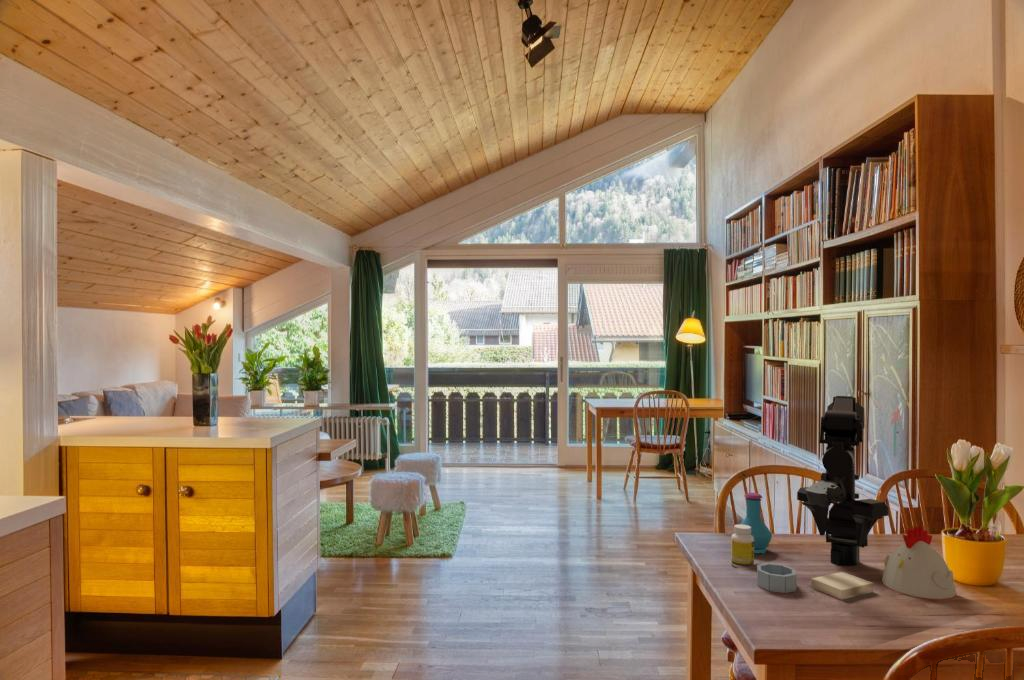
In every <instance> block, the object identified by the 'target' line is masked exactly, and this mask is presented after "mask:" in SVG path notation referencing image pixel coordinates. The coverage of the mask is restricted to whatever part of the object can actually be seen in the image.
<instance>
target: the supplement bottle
mask: <svg viewBox="0 0 1024 680" xmlns="http://www.w3.org/2000/svg"><path fill="white" fill-rule="evenodd" d="M733 530H734V533H732V534H731V538H730V539H731V540H730V541H731V542H730V543H731V544H730V545H731V546H730V551H731V552H730V555H731V556H730V557H731V558H730V563H731V565H732V566H733V567H734V568H737V567H738V569H740V568H745V567H750V566H754V565H755V554H754V538H753V536H751V535H750V534H751V527H750V526H748V525H742V524H741V523H740V524H734V528H733Z"/></svg>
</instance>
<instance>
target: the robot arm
mask: <svg viewBox="0 0 1024 680" xmlns="http://www.w3.org/2000/svg"><path fill="white" fill-rule="evenodd" d="M865 420H866V419H865V407H863V406H862V405H861V404H860V403H858V402H857V398H856V397H855V396H853V395H851V396H850V395H836V396H833V398H832V402H831V403H830V404H829V405H828V406H827V408H826V411H824V415H823V416H820V428H819V429H820V430H819V444H822V445H823V444H824V445H825V444H826V447H825V452H824V454H823V457H822V459H821V460H822V467H823V468H824V470H825V472H822V473H821V474H820V480H819V481H817V482H814V484H812V485H809V486H805V487H803V486H802V487H799V489H798V490H797V492H796V500H797V501H801V505H803V506H806V508H807V509H808V510H809V512H810V513H811V515H812V517H813V519H814V522H815V525H816V528H817V530H818V533H819V535H820V536H825V542H826V543H830V564H833V565H836V566H847V567H848V566H850V567H853V566H854V567H855V566H859V563H860V547H861V548H865V547H868V544H869V543H868V542H869V540H868V537H869V536H868V535H870V532H871V530H872V528H873V527H874V525H875V524H876V522H877V521H878V520H880V519H883V517H889V505H887V503H886V502H885V501H881V500H877V499H872V498H866V499H860V494H859V493H858V492H856V481H859V480H860V475H859V474H856V449H855V447H860V443H863V441H864V439H863V438H864V437H863V435H864V431H863V430H865V425H866V424H865V422H866V421H865ZM831 504H832V506H831ZM830 506H831V507H830Z"/></svg>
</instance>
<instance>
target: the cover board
mask: <svg viewBox="0 0 1024 680" xmlns="http://www.w3.org/2000/svg"><path fill="white" fill-rule="evenodd" d="M810 581H811V584H810V585H811V587H810V588H811V589H813V588H814V589H813V590H816V591H818V590H819V592H821V593H823V592H824V593H823V594H826V595H828V594H829V595H828V596H830V595H831V597H833V598H835V597H836V599H838V600H840V599H841V600H840V601H843V599H847V598H851V597H855V596H859V595H863V594H867V593H871V592H874V582H871V581H868V580H866V579H863V578H861V577H857V576H856V575H852V574H849V573H847V572H844V571H840V572H835V573H831V574H825V575H821V576H816V577H812V578H811V580H810Z"/></svg>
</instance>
